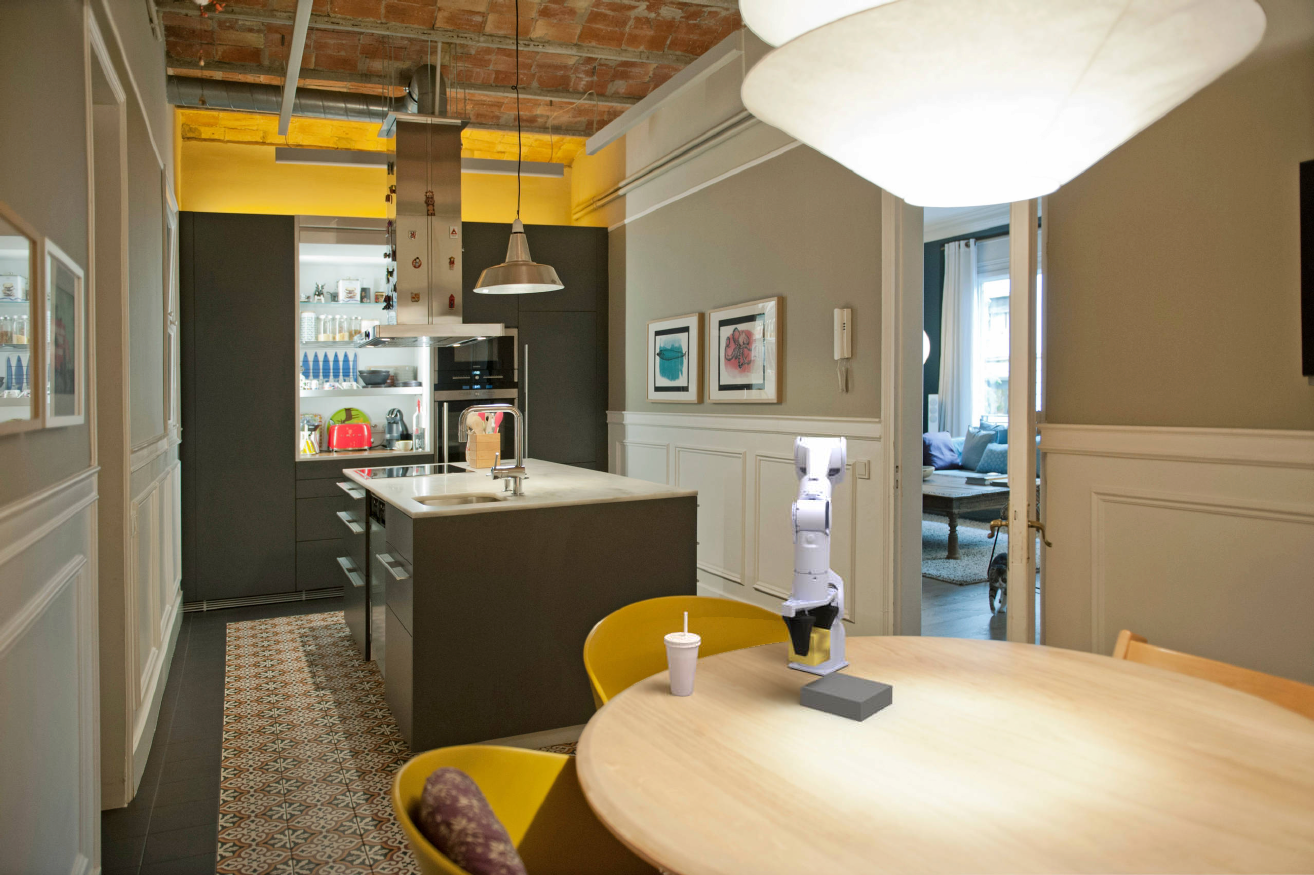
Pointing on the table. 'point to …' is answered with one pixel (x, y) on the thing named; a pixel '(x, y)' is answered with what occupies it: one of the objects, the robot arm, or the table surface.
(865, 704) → the base block
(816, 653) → the mustard cube
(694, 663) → the smoothie
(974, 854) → the table surface
